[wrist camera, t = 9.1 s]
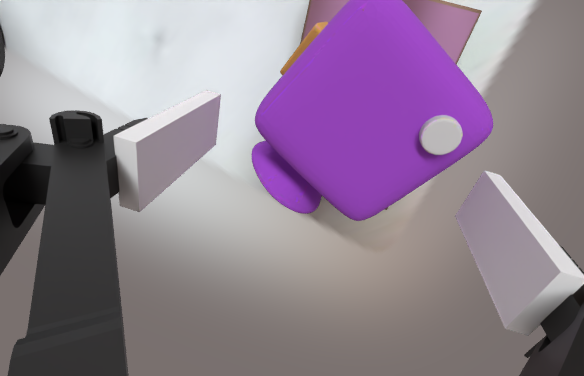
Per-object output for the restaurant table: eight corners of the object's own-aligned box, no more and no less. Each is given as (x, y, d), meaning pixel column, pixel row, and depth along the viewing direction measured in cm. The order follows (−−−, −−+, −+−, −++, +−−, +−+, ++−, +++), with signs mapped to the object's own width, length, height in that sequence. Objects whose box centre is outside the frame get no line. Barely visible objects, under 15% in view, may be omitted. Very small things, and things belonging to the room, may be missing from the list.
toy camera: (253, 135, 27) (198, 190, 18) (349, -29, 20) (331, -63, 11) (353, 203, 28) (345, 285, 19) (478, 69, 21) (552, 106, 12)
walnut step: (282, 156, 32) (270, 175, 28) (324, -25, 24) (315, -33, 20) (385, 188, 31) (387, 212, 28) (465, 11, 23) (484, 10, 19)
